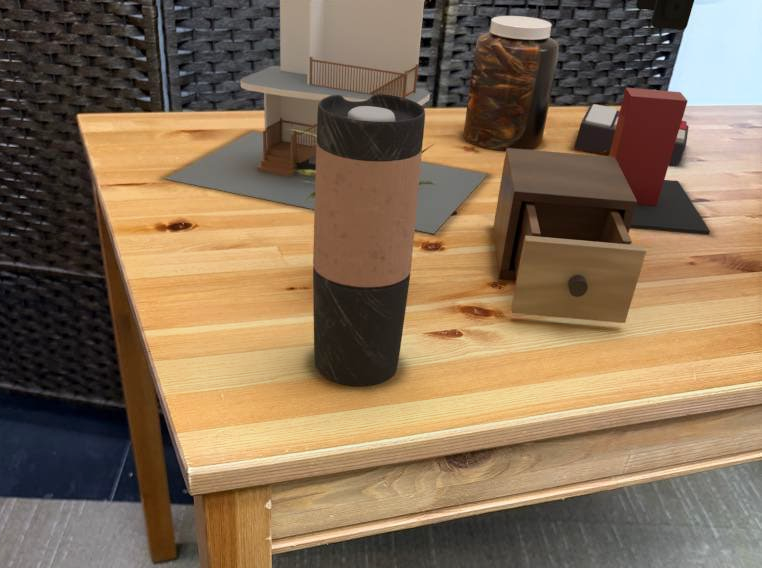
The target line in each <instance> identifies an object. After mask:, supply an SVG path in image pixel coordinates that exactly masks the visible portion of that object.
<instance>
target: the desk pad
mask: <svg viewBox="0 0 762 568" xmlns="http://www.w3.org/2000/svg"><path fill="white" fill-rule="evenodd" d="M630 229H642V230H653V231H666V232H677V233H687V234H699V235H710V233H711V230H710V229H709V227H708V226H707V224H706V222H705V221H704V219H703V218H702V216H701V214H700V213H699V211H698V210H697V209H696V206H695V205H694V203H693V202H692V201H691V199H690V197H689V196H688V193H686V191H685V189H684V188H683V186H682V185H681V183H680V181H678V180H673V179H671V180H670V179H664V183H663V186H662V189H661V193H660V196H659V199H658V203H657V206H646V205H636V208H635V211H634V215H633V219H632V222H631V226H630Z"/></svg>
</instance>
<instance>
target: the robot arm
mask: <svg viewBox="0 0 762 568" xmlns="http://www.w3.org/2000/svg"><path fill="white" fill-rule="evenodd" d="M694 3H695V0H636V2H635V7H636V8H637V9H638V10H643V11H652V17H651V20H650V25H651V26H652V27H653V28H657V29H668V30H676V31H677V30H678V31H684V30H686V28H687V27H688V24H689V21H690V16H691V14H692V10H693V7H694Z"/></svg>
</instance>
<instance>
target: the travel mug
mask: <svg viewBox="0 0 762 568" xmlns="http://www.w3.org/2000/svg"><path fill="white" fill-rule="evenodd" d="M425 122H426V109H425V108H424V107H423V105H422V106H421V105H420V104H418V103H416V102H414V101H412V100H409V99H406V98H402V97H398V96H393V95H387V94H375V95H373V96H372V97H371V98H370V99H368V100H366V101H360V102H352V101H347V100H346V99H344V98H343V96H342V95H338V94H337V95H331V96H328V97H326V98H323V99H322V100H321V101H320V102H319V104H318V113H317V147H316V180H315V209H314V213H313V214H314V218H313V246H312V247H313V249H312V250H313V252H312V287H313V288H312V292H313V293H312V295H313V298H312V299H313V300H312V301H313V358H314V365H315V368H316V370H317V372H319V374H320V375H322V376H323V377H325V378H326V379H328V380H329V381H332V382H335V383H338V384H342V385H346V386H354V387H355V386H356V387H357V386H359V387H363V386H372V385H377V384H381V383H383V382H386V381H388V380H389V379H391V378H392V377H393V376H394V375H395V373H396V372H397V370H398V366H399V359H400V354H401V348H402V347H401V346H402V338H403V331H404V326H405V325H404V324H405V316H406V309H407V303H408V302H407V301H408V296H409V295H408V294H409V287H410V285H409V284H410V280H411V270H412V264H413V263H412V261H413V251H414V241H415V231H416V230H415V220H416V209H417V199H418V188H419V177H420V166H421V162H422V156H423V153H422V151H423V145H424V144H423V143H424V134H425Z"/></svg>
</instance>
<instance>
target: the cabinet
mask: <svg viewBox="0 0 762 568" xmlns="http://www.w3.org/2000/svg"><path fill="white" fill-rule="evenodd" d="M523 201H527V202H538V203H550V204H562V205H573V206H585V207H596V208H608V209H618V211H619V214H620V216H621V218H622V221H623V223H624V225H625V227H626V230H627V232H628V234H629V233H630V230H631V228H630V226H631V222H632V219H633V215H634V211H635V208H636V205H637V200H636V198H635V196H634V194H633V192H632V190H631V188H630V186H629V184H628V182H627V180H626V178H625V176H624V174H623V172H622V170H621V168H620V166H619V164H618V162H617V160H616V158H615V157H609V155H607V156H606V155H595V154H584V153H583V154H582V153H574V152H573V153H571V152H562V151H561V152H558V151H548V150H547V151H546V150H537V149H527V150H525V149H513V148H507V149H506V150H505V155H504V160H503V167H502V173H501V179H500V185H499V191H498V195H497V202H496V208H495V213H494V214H495V215H494V221H493V227H492V231H493V239H494V240H493V241H494V250H495V257H496V267H497V268H496V269H497V275H498V279H501V280H510V281H511V280H512V281H516V273H515V266H514V259H513V253H514V247H515V242H516V237H517V231H518V226H519V221H520V215H521V210H522V205H523Z"/></svg>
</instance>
